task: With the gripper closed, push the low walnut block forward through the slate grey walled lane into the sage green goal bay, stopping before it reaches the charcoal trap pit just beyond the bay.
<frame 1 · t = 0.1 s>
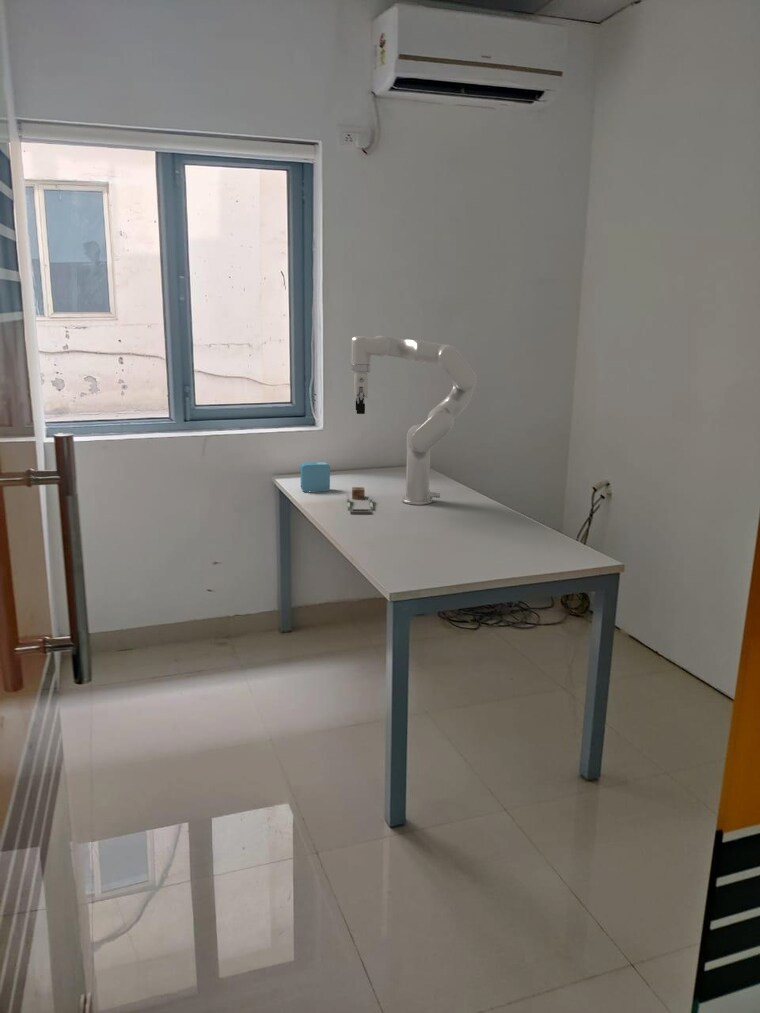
hand: (360, 412, 310), 37 cm above the table, tool pointing down, fingers open, 9 cm apart
data package: (315, 491, 336), on the table
trap pit: (360, 512, 302), on the table
walled lane: (359, 503, 316), on the table
walnut block: (358, 498, 326), on the table
goal bay: (359, 508, 309), on the table
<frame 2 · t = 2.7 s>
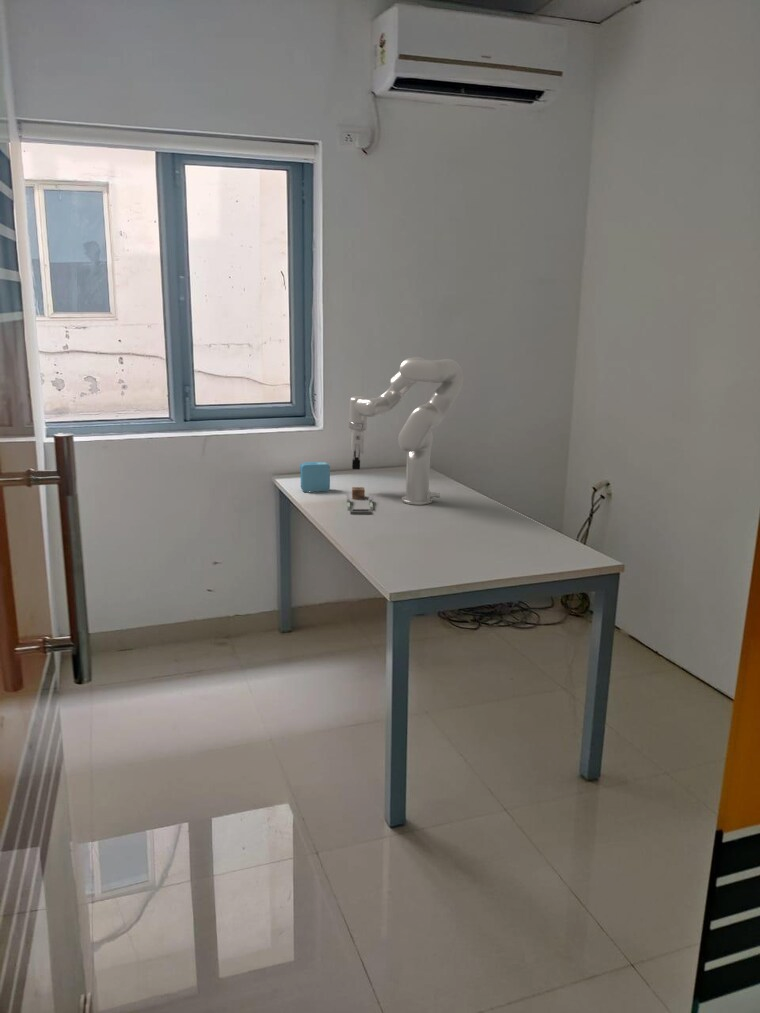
hand: (355, 468, 332), 10 cm above the table, tool pointing down, fingers closed
nothing on the table moved.
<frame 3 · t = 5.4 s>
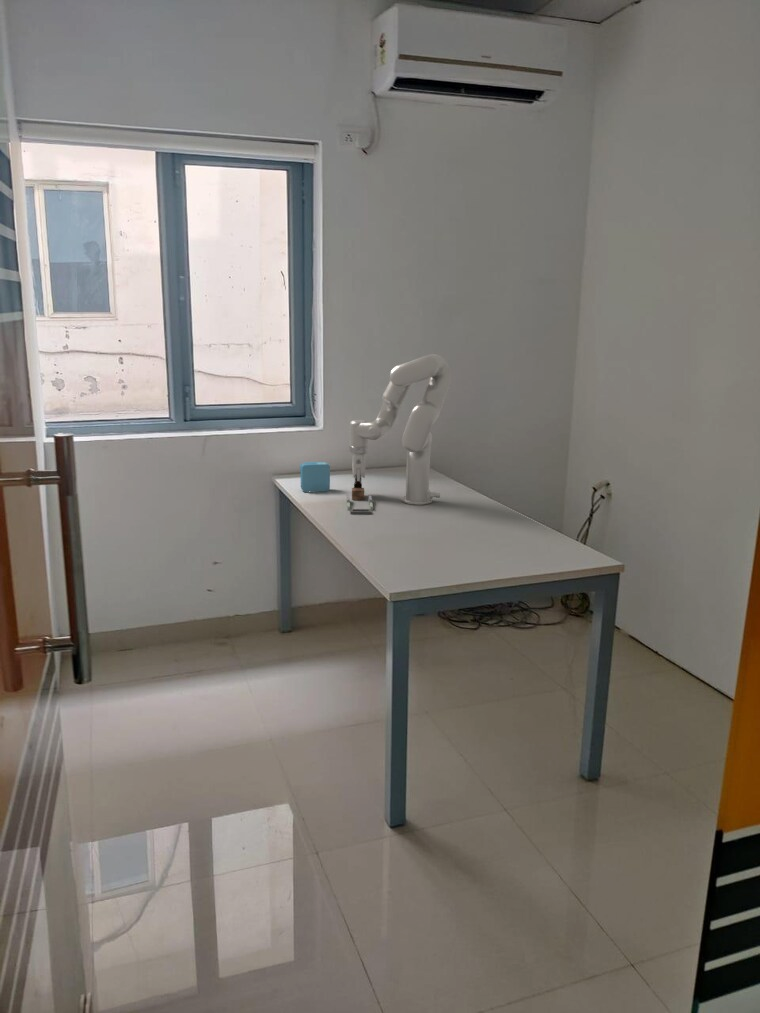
hand: (357, 492, 328), 1 cm above the table, tool pointing down, fingers closed
walnut block: (358, 498, 324), on the table, touching gripper
everything else where it was.
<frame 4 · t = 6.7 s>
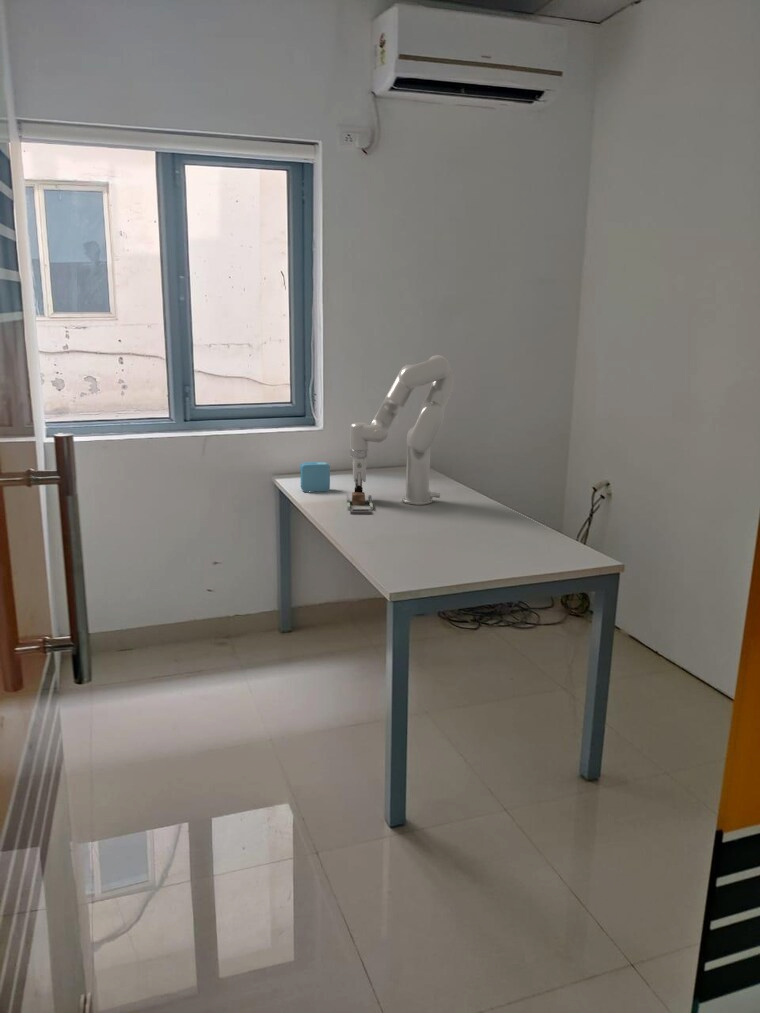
hand: (358, 497, 321), 1 cm above the table, tool pointing down, fingers closed
walnut block: (358, 503, 317), on the table, touching gripper
everything else where it was.
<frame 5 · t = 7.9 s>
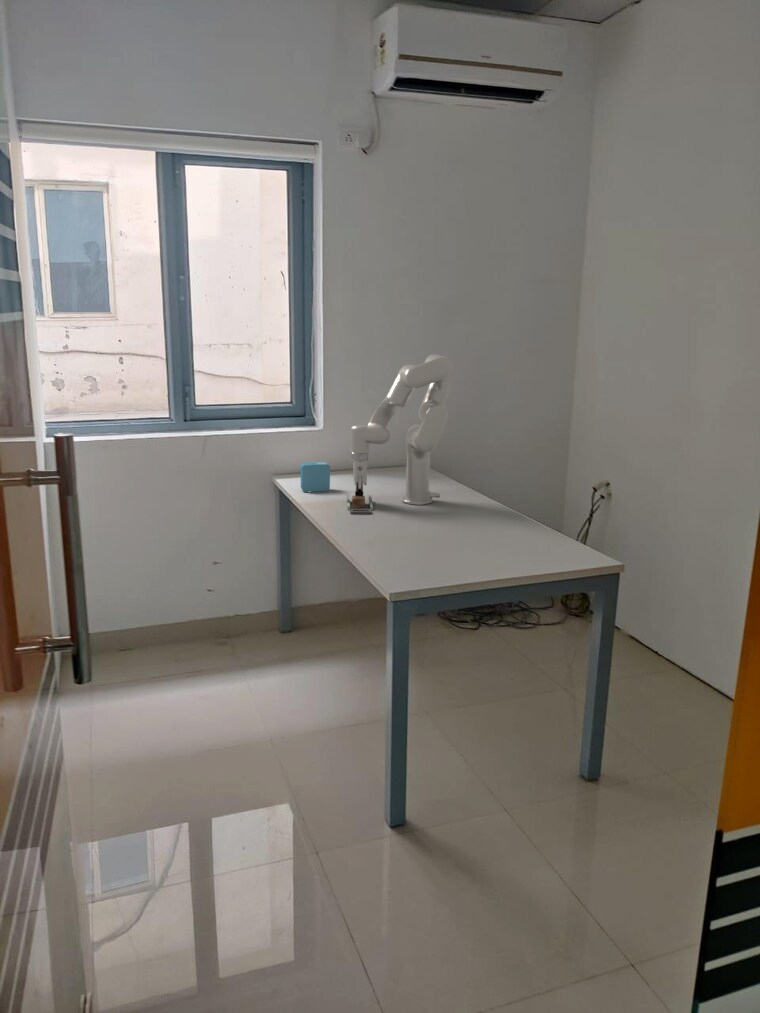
hand: (359, 500, 315), 1 cm above the table, tool pointing down, fingers closed
walnut block: (358, 507, 311), on the table, touching gripper
everything else where it was.
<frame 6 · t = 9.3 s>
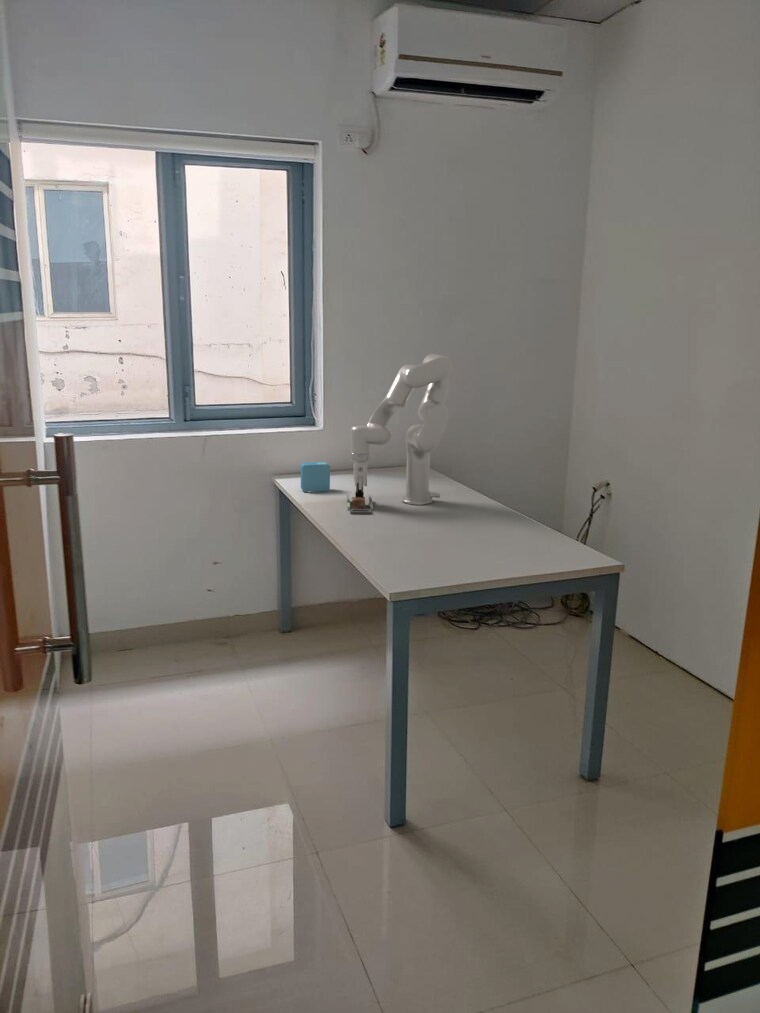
hand: (359, 501, 314), 1 cm above the table, tool pointing down, fingers closed
walnut block: (358, 508, 310), on the table
everything else where it was.
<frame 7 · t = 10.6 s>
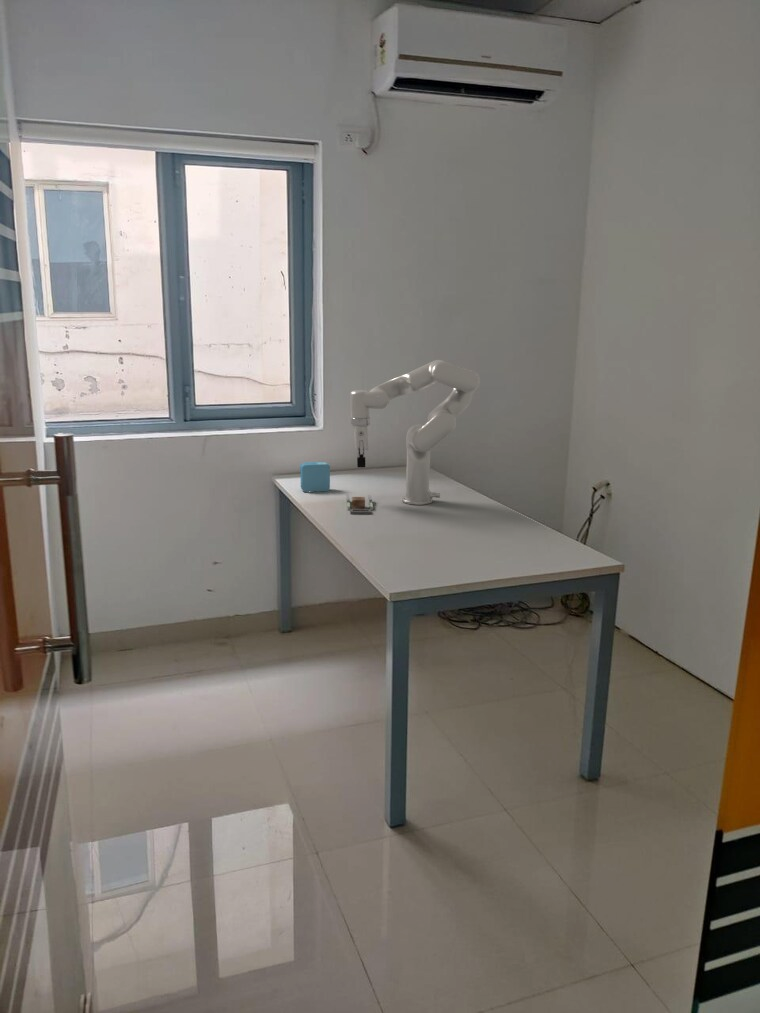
hand: (361, 466, 314), 15 cm above the table, tool pointing down, fingers closed
nothing on the table moved.
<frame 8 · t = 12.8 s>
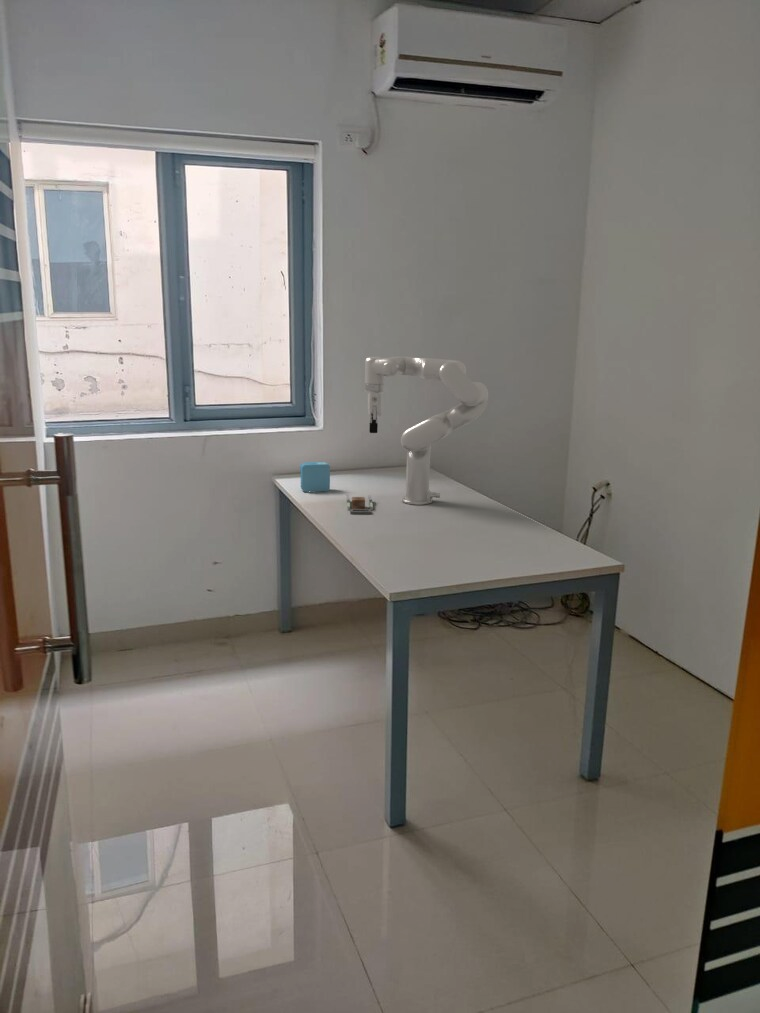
hand: (373, 432, 321), 27 cm above the table, tool pointing down, fingers closed
nothing on the table moved.
at the end: walnut block 1.1 cm from the target spot, on the table; walnut block tilted 0°; walnut block touching table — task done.
